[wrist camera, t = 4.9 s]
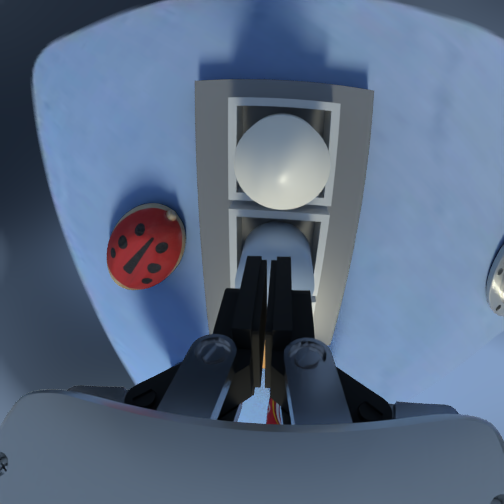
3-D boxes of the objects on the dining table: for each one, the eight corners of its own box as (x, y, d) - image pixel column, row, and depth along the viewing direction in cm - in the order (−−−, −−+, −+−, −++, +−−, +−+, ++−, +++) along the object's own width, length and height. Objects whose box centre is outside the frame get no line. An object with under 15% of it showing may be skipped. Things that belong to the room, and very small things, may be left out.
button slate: (313, 223, 19) (319, 254, 16) (306, 281, 21) (308, 318, 18) (243, 219, 19) (234, 249, 16) (243, 277, 22) (235, 313, 18)
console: (368, 91, 17) (387, 90, 14) (328, 334, 29) (332, 366, 25) (200, 81, 18) (181, 78, 15) (212, 326, 30) (203, 357, 26)
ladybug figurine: (102, 254, 27) (84, 273, 24) (145, 179, 23) (125, 193, 20) (153, 293, 29) (140, 316, 26) (207, 228, 25) (196, 248, 22)
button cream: (323, 116, 16) (334, 121, 12) (317, 188, 18) (325, 212, 14) (244, 111, 16) (233, 115, 13) (243, 184, 18) (233, 207, 15)
